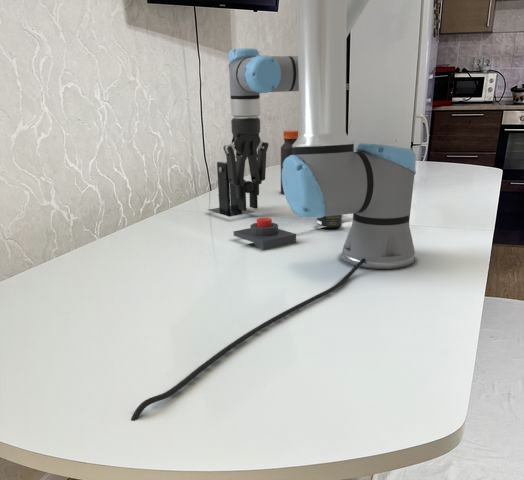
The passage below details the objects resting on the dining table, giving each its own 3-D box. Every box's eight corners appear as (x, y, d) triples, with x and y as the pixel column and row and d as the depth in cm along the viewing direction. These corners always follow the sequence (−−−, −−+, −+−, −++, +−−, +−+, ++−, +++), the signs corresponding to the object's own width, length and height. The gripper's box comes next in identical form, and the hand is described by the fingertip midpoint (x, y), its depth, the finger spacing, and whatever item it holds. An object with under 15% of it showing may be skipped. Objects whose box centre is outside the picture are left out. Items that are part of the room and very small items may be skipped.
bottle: (278, 194, 181) (278, 132, 172) (282, 190, 187) (282, 130, 178) (298, 194, 180) (299, 132, 171) (301, 191, 186) (302, 130, 177)
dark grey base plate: (296, 242, 126) (296, 226, 124) (263, 250, 121) (262, 233, 119) (265, 233, 135) (265, 217, 133) (233, 240, 129) (232, 224, 127)
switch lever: (255, 194, 145) (257, 184, 143) (245, 196, 143) (248, 185, 141) (229, 170, 151) (231, 160, 149) (220, 171, 149) (222, 161, 147)
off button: (274, 226, 126) (274, 219, 125) (262, 229, 124) (262, 221, 123) (265, 224, 128) (265, 216, 127) (253, 226, 126) (253, 219, 125)
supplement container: (347, 228, 138) (349, 187, 133) (326, 232, 134) (328, 190, 130) (331, 223, 143) (332, 183, 138) (311, 227, 140) (312, 186, 135)
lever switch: (255, 216, 152) (254, 162, 146) (229, 220, 148) (227, 165, 141) (232, 209, 161) (229, 158, 154) (207, 213, 156) (203, 161, 149)
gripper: (261, 115, 143) (263, 202, 154) (211, 118, 134) (216, 210, 145) (279, 116, 138) (279, 206, 148) (227, 119, 129) (231, 215, 140)
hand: (248, 208), depth 147 cm, fingers closed on switch lever, 3 cm apart
